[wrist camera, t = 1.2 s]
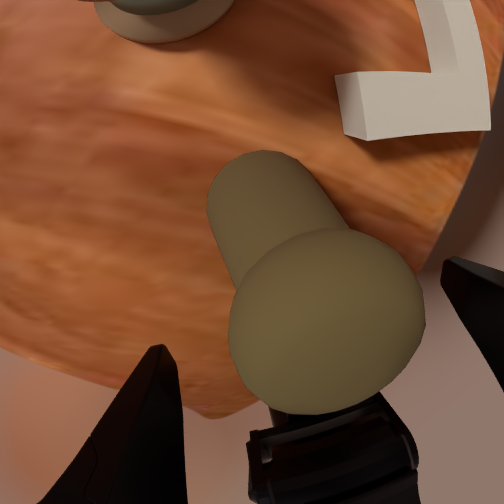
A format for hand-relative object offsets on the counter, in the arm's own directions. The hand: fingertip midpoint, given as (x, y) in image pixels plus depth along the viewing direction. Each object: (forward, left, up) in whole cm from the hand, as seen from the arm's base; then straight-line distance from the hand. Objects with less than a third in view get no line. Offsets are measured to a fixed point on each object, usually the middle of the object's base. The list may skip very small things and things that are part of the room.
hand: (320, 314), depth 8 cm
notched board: (+10, -10, -9) cm, 17 cm away
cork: (0, 0, -9) cm, 9 cm away
